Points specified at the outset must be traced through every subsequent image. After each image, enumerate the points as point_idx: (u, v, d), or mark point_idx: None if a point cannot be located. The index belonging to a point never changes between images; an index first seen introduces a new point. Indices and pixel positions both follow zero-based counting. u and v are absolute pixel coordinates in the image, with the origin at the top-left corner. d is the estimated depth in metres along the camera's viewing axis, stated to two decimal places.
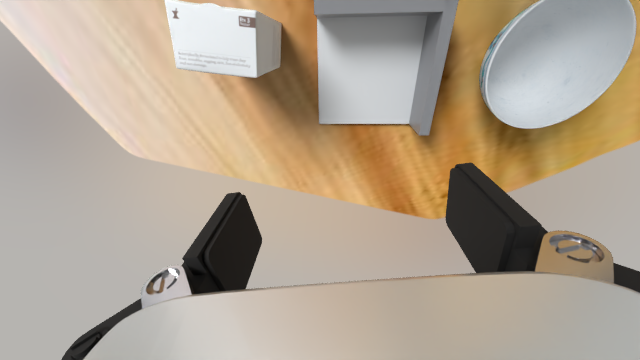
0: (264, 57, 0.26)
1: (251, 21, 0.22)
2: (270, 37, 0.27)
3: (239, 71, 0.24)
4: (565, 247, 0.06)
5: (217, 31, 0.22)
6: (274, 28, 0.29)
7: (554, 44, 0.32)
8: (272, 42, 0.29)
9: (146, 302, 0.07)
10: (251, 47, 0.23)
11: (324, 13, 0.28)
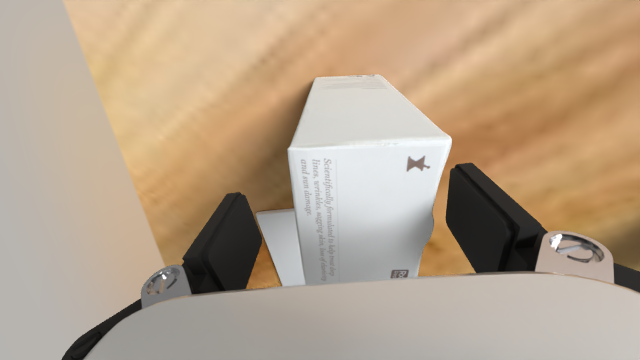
0: None
1: None
2: None
3: (310, 266, 0.12)
4: (565, 247, 0.06)
5: (381, 240, 0.10)
6: None
7: None
8: None
9: (146, 302, 0.07)
10: None
11: None
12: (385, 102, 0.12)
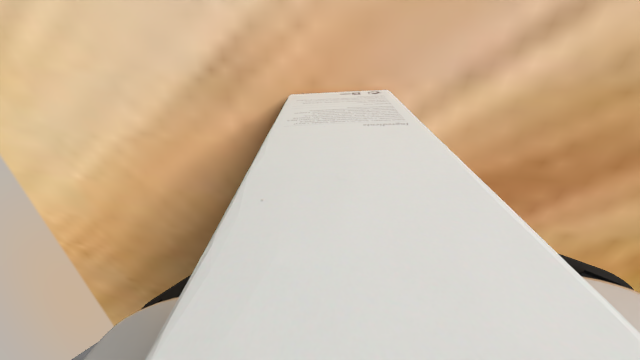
0: None
1: None
2: None
3: None
4: None
5: None
6: None
7: None
8: None
9: None
10: None
11: None
12: (421, 178, 0.05)
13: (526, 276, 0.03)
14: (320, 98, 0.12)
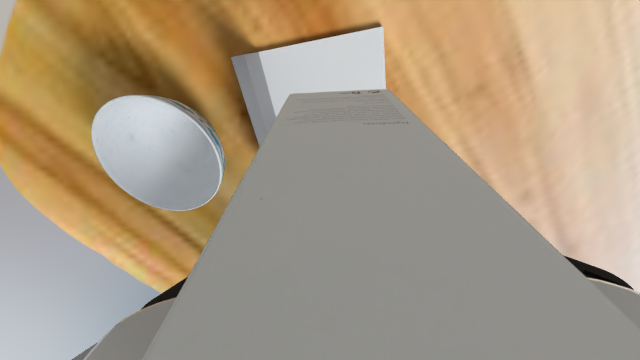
0: None
1: None
2: None
3: None
4: None
5: None
6: None
7: (169, 158, 0.35)
8: None
9: None
10: None
11: None
12: (421, 176, 0.05)
13: (527, 274, 0.03)
14: (320, 97, 0.12)
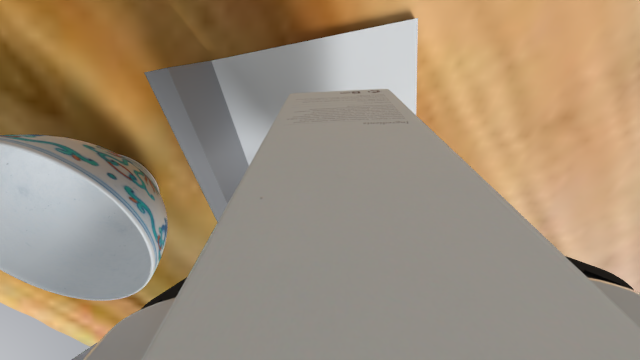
0: None
1: None
2: None
3: None
4: None
5: None
6: None
7: (94, 214, 0.24)
8: None
9: None
10: None
11: None
12: (421, 176, 0.05)
13: (527, 273, 0.03)
14: (320, 97, 0.12)
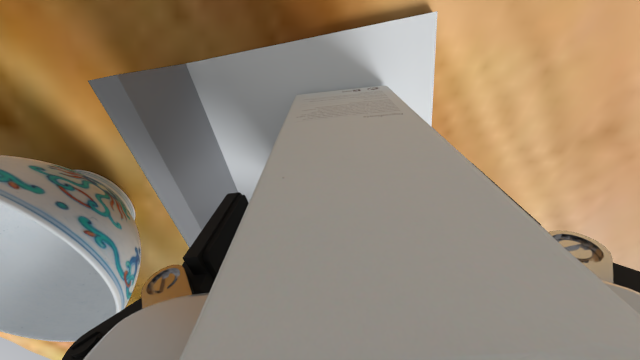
0: None
1: None
2: None
3: None
4: (564, 247, 0.06)
5: None
6: None
7: (60, 238, 0.21)
8: None
9: (146, 302, 0.07)
10: None
11: None
12: (411, 154, 0.07)
13: (483, 213, 0.04)
14: (324, 96, 0.13)
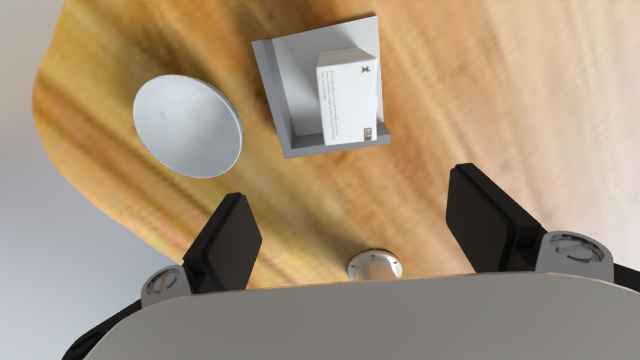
0: None
1: (368, 137, 0.25)
2: None
3: (326, 130, 0.25)
4: (565, 247, 0.06)
5: (356, 110, 0.24)
6: None
7: (193, 135, 0.41)
8: None
9: (146, 302, 0.07)
10: (349, 139, 0.26)
11: (381, 135, 0.35)
12: (356, 54, 0.26)
13: (365, 56, 0.24)
14: (332, 51, 0.33)
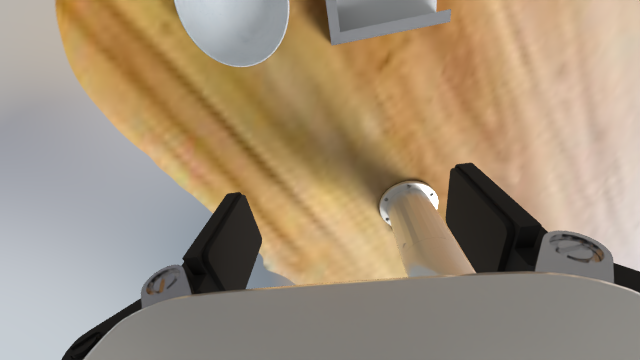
0: None
1: None
2: None
3: None
4: (565, 247, 0.06)
5: None
6: None
7: (229, 28, 0.38)
8: None
9: (146, 302, 0.07)
10: None
11: (441, 11, 0.32)
12: None
13: None
14: None
